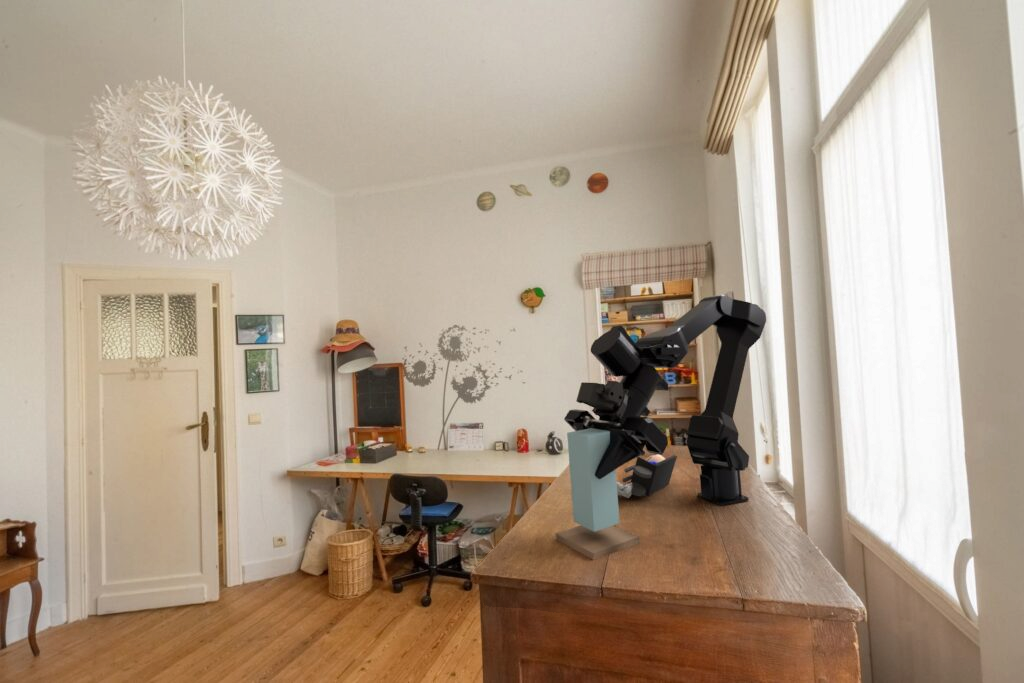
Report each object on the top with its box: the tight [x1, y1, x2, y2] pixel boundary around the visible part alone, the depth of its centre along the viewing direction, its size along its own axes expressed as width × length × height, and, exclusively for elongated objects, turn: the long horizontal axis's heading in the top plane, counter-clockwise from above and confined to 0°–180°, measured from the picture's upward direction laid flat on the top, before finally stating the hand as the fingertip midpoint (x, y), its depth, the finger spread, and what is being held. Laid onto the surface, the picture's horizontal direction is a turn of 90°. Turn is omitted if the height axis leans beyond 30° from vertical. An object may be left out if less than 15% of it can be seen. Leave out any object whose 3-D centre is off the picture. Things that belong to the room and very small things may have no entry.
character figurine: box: [622, 453, 678, 497], centre depth 92 cm, size 8×7×15 cm
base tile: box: [555, 525, 640, 561], centre depth 69 cm, size 9×9×2 cm
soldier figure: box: [616, 481, 633, 499], centre depth 90 cm, size 8×5×12 cm
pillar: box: [566, 428, 620, 532], centre depth 69 cm, size 5×5×14 cm
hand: (585, 473), depth 69 cm, fingers closed on pillar, 5 cm apart
